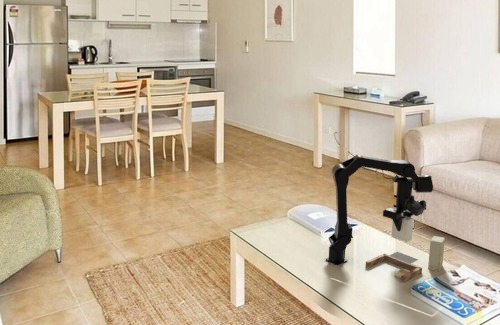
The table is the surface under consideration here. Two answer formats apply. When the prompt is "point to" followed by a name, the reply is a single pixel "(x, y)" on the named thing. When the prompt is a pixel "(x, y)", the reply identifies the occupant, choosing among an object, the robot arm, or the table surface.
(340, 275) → the table surface
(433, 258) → the skincare box
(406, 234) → the off-white upright block
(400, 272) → the offcut slab upper
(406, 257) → the felt pad
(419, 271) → the frame
